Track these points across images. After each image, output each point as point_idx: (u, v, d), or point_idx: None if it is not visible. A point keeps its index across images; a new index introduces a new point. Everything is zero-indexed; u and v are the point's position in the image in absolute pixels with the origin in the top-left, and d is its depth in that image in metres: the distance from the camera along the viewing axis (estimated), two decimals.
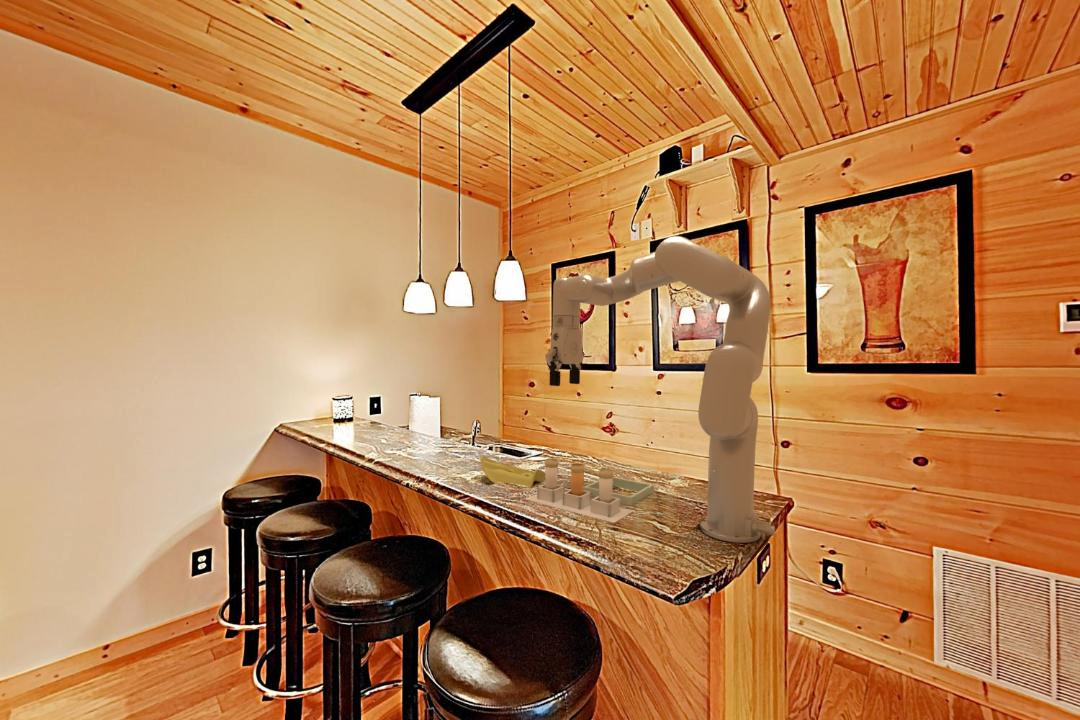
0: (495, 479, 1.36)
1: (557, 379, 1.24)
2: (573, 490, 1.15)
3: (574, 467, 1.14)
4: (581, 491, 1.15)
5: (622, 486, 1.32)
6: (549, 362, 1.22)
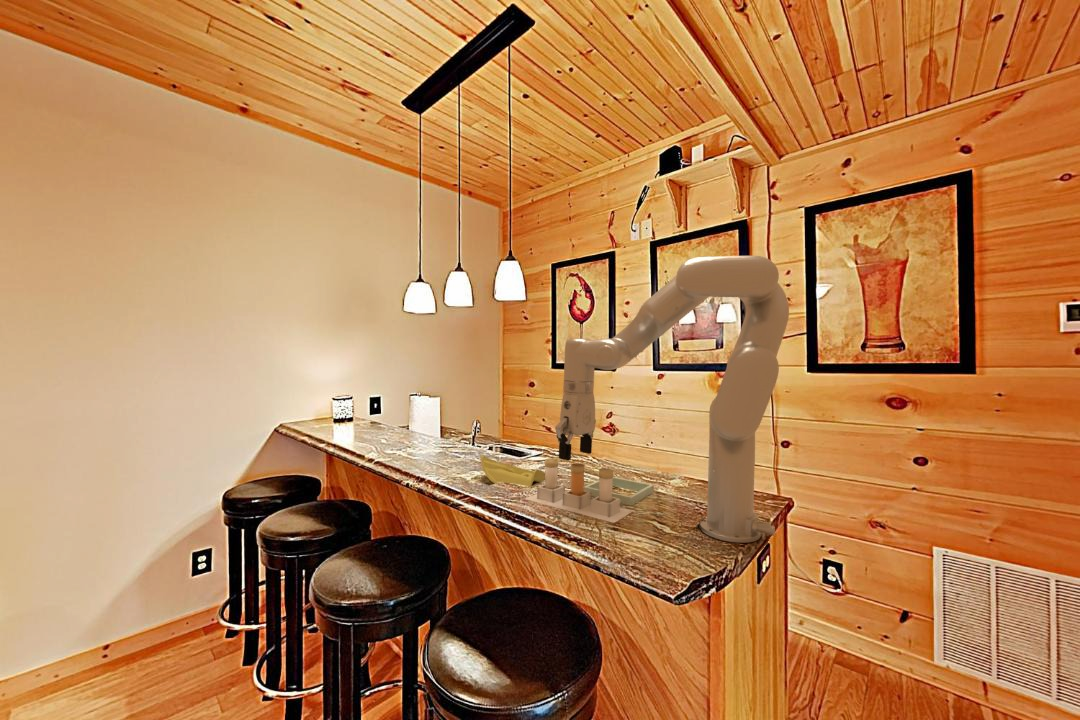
0: (495, 479, 1.36)
1: (568, 453, 1.11)
2: (573, 490, 1.15)
3: (574, 467, 1.14)
4: (581, 491, 1.15)
5: (622, 486, 1.32)
6: (559, 435, 1.09)
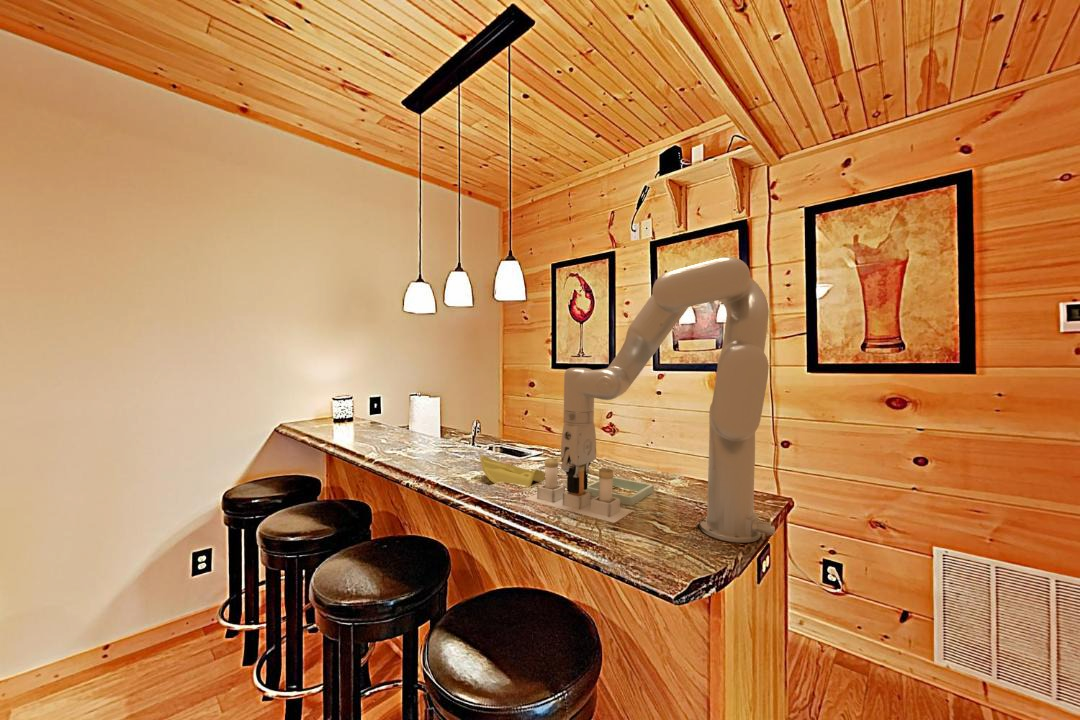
0: (494, 478, 1.36)
1: (576, 486, 1.13)
2: None
3: None
4: (581, 491, 1.15)
5: (622, 486, 1.32)
6: None
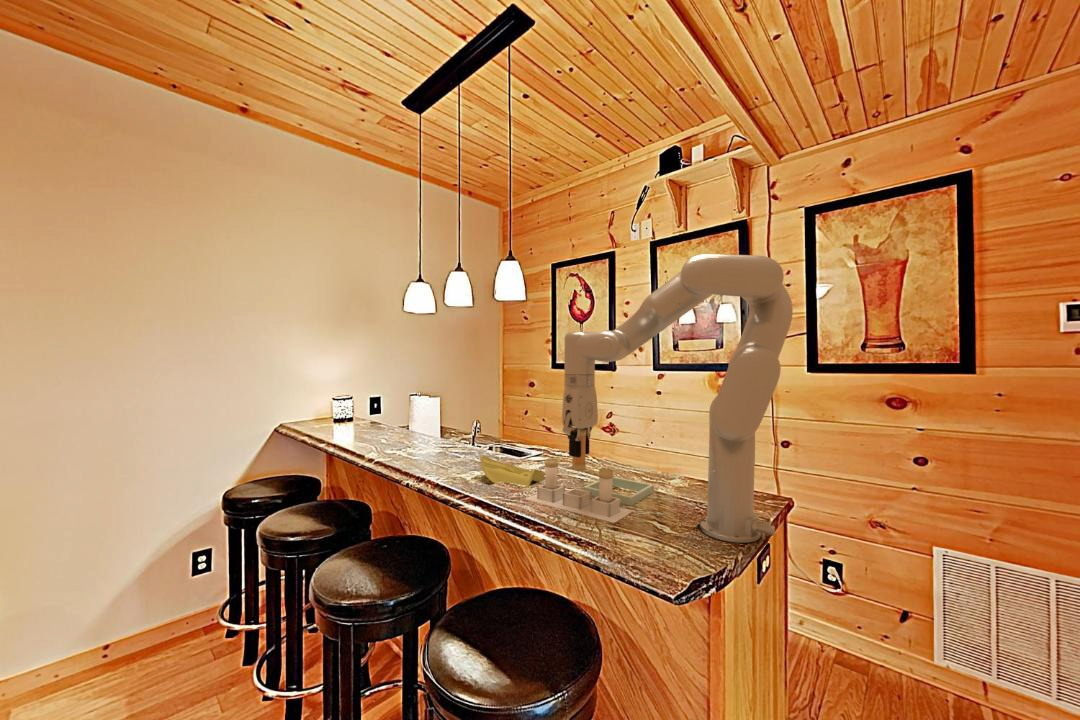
0: (494, 478, 1.37)
1: (578, 450, 1.13)
2: None
3: None
4: (583, 455, 1.14)
5: (622, 486, 1.32)
6: None
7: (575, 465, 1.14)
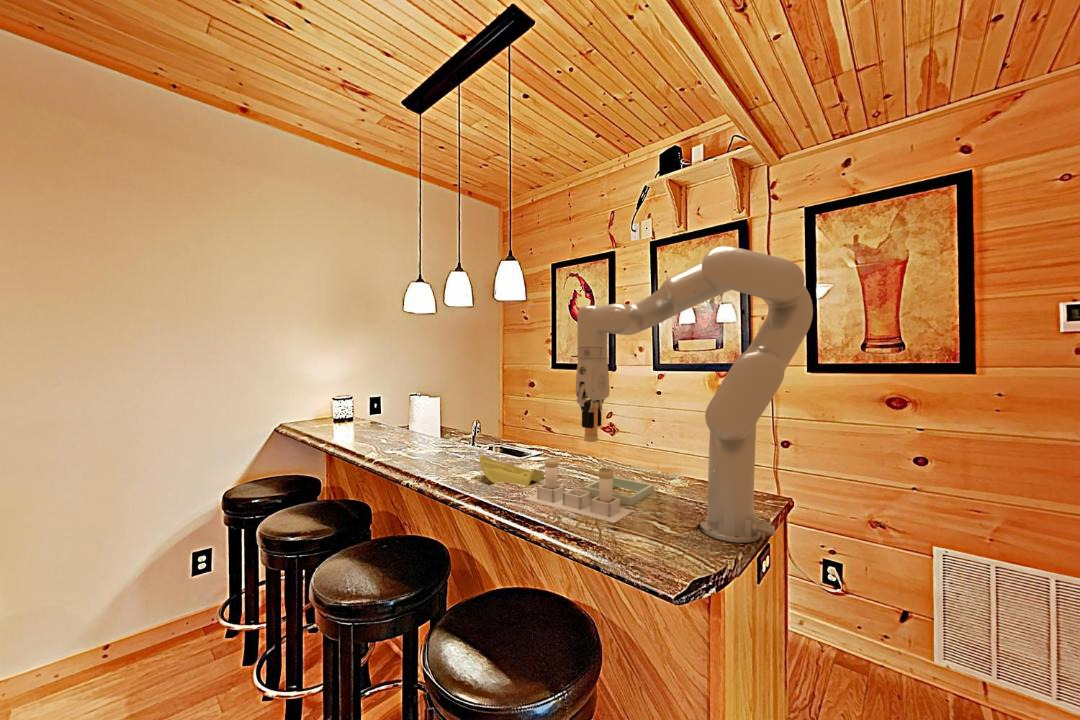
0: (493, 478, 1.37)
1: (591, 421, 1.16)
2: None
3: None
4: (595, 426, 1.17)
5: (622, 486, 1.32)
6: None
7: (588, 436, 1.17)
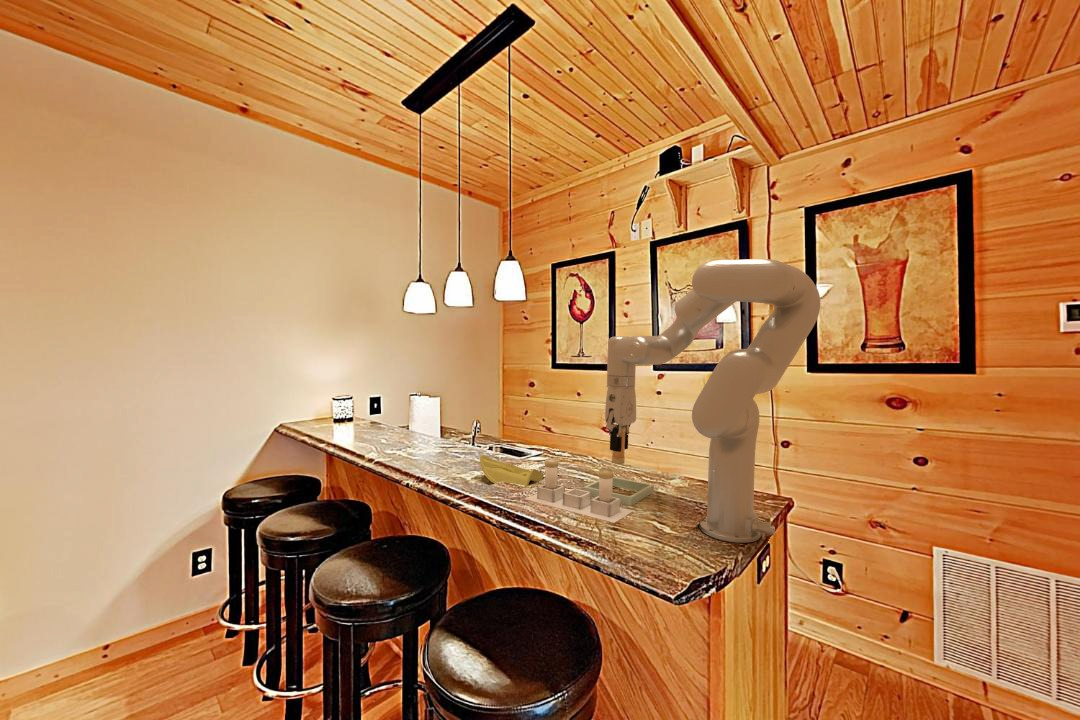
0: (493, 478, 1.37)
1: (618, 445, 1.23)
2: None
3: None
4: (622, 450, 1.24)
5: (622, 486, 1.32)
6: None
7: (615, 459, 1.24)
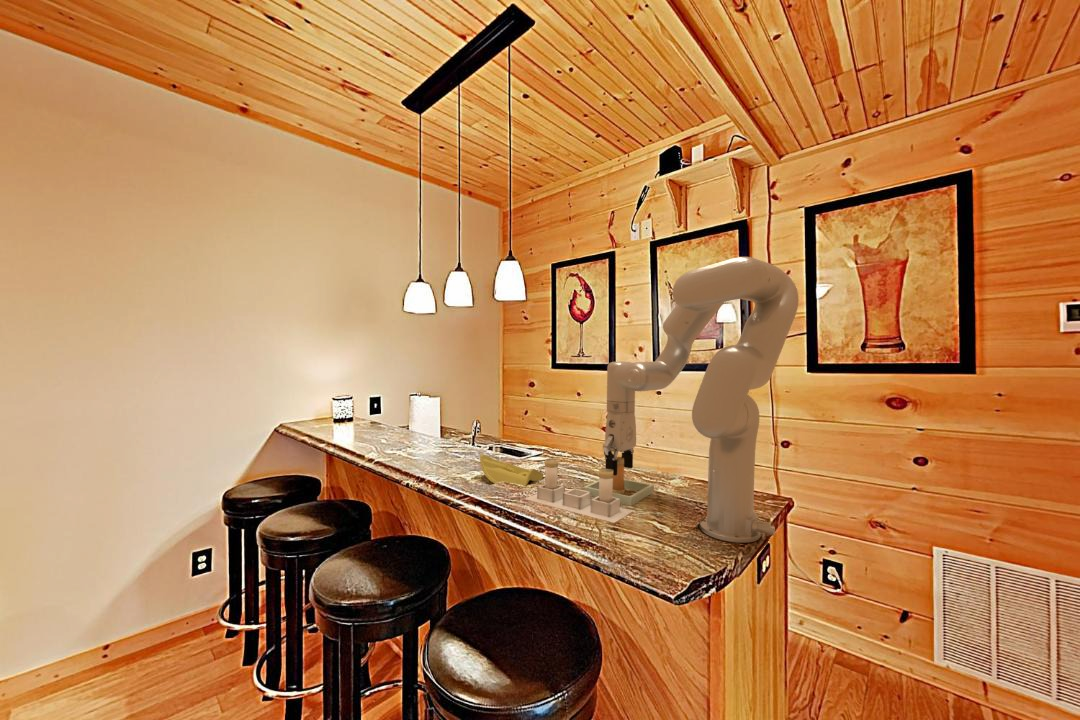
0: (492, 477, 1.38)
1: (614, 468, 1.21)
2: (615, 481, 1.25)
3: None
4: (622, 482, 1.24)
5: None
6: (607, 452, 1.19)
7: (615, 491, 1.24)
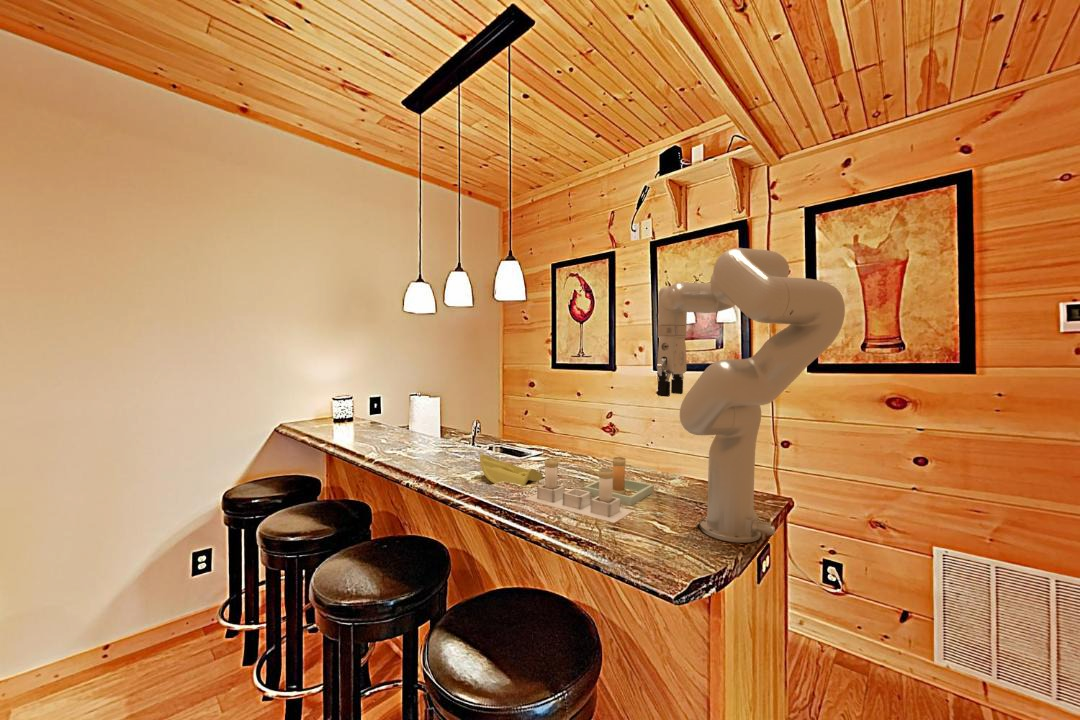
0: (492, 477, 1.38)
1: (667, 389, 1.22)
2: (615, 481, 1.24)
3: (617, 460, 1.24)
4: (623, 482, 1.24)
5: None
6: (660, 372, 1.21)
7: (615, 491, 1.24)
